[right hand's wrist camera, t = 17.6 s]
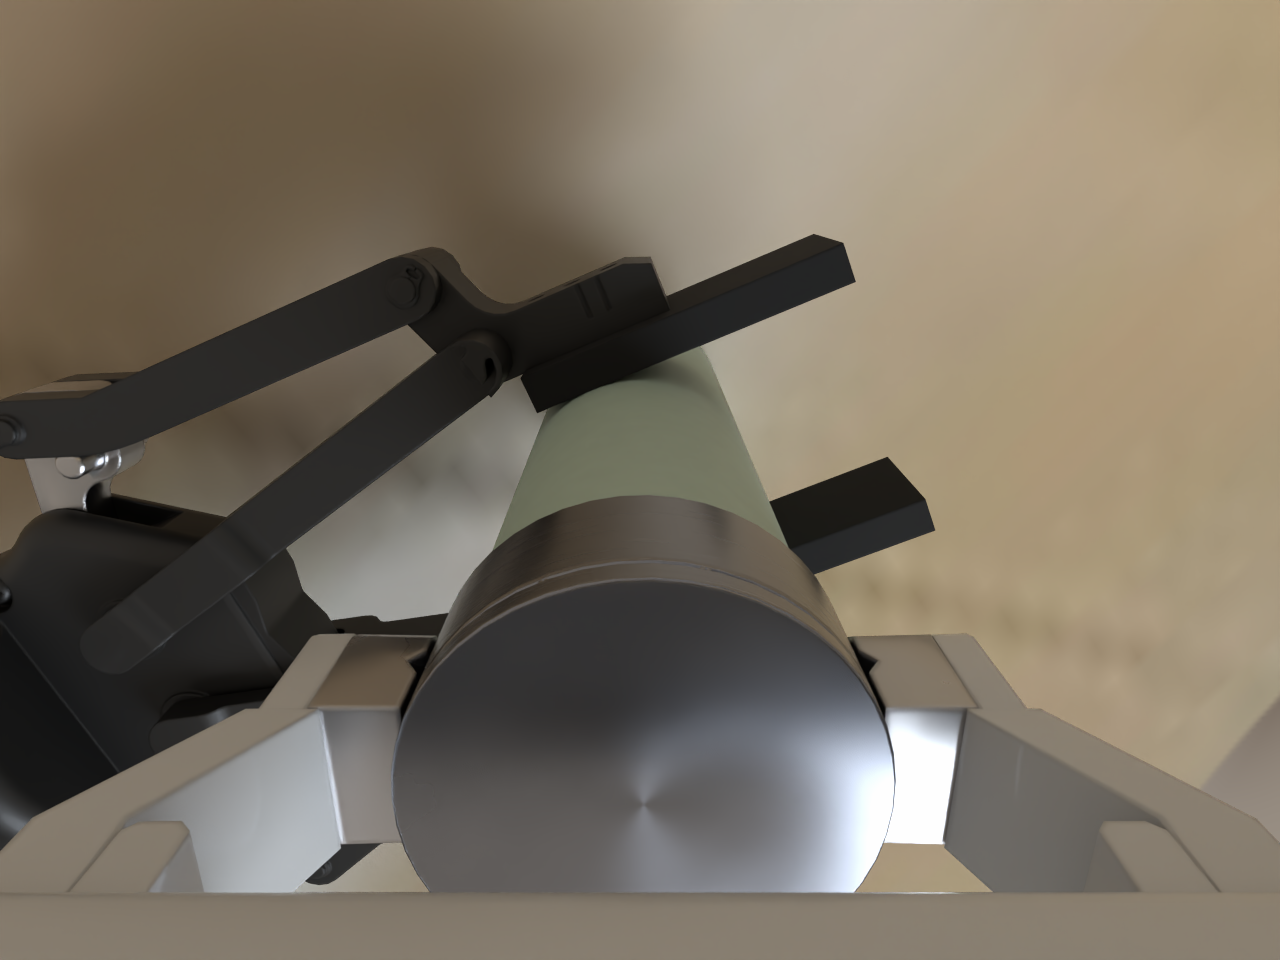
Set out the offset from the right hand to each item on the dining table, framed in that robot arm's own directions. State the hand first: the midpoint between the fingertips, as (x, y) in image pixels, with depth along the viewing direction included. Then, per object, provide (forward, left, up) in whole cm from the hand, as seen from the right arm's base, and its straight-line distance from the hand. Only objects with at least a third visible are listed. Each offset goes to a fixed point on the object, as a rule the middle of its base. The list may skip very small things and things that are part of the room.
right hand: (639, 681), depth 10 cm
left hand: (-3, +4, -8) cm, 9 cm away
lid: (0, 0, +2) cm, 2 cm away
